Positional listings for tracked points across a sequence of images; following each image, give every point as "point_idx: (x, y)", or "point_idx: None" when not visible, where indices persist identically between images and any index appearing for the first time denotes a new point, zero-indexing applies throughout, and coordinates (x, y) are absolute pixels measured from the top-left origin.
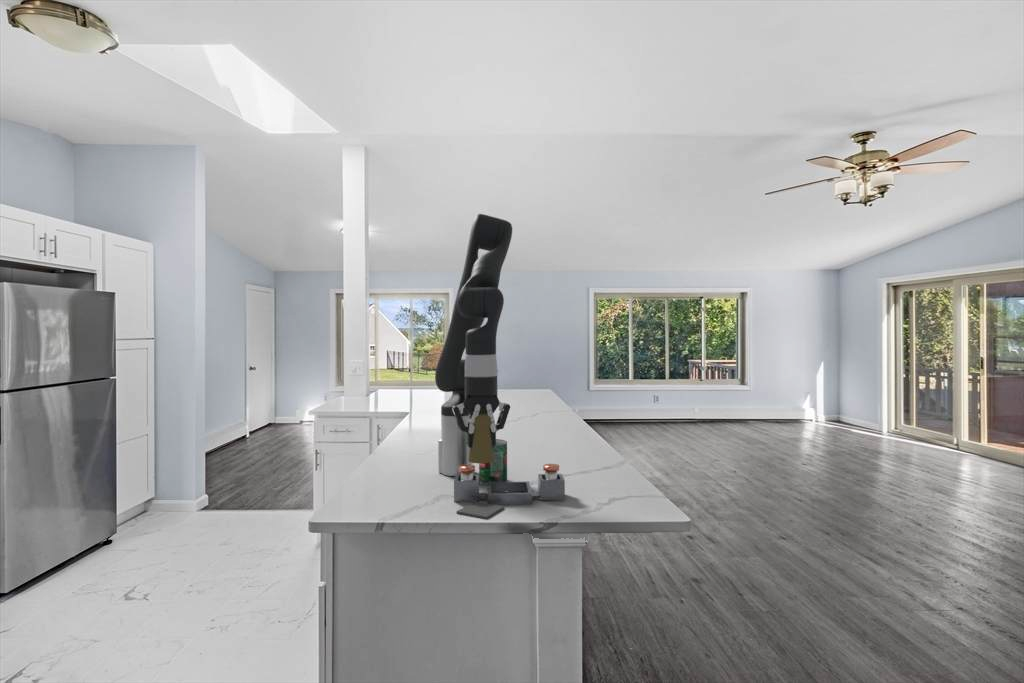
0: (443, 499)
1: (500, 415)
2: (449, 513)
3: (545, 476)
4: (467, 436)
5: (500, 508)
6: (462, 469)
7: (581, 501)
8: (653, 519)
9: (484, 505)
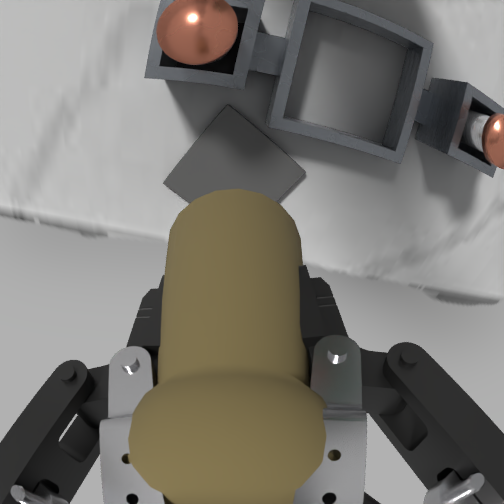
0: (134, 49)
1: (430, 451)
2: (145, 177)
3: (472, 129)
4: (134, 343)
5: (290, 186)
6: (170, 57)
7: (481, 177)
8: (494, 290)
9: (250, 149)
